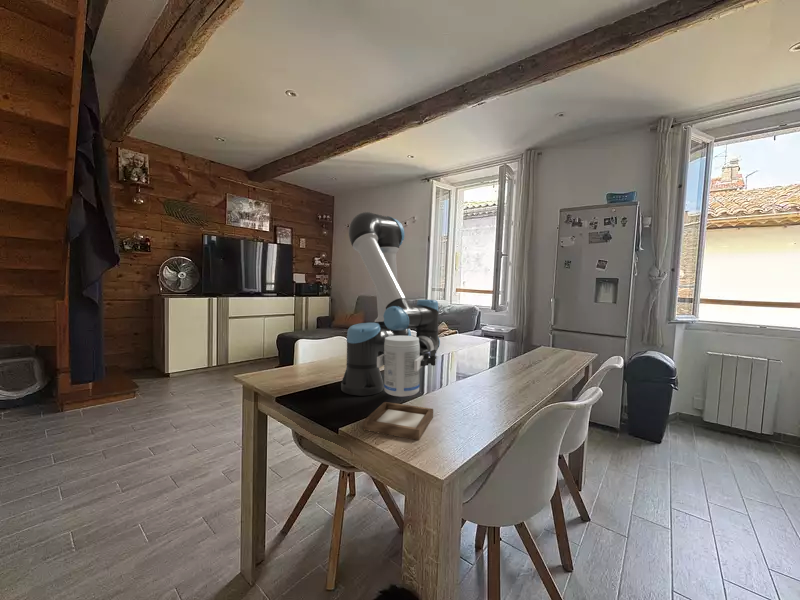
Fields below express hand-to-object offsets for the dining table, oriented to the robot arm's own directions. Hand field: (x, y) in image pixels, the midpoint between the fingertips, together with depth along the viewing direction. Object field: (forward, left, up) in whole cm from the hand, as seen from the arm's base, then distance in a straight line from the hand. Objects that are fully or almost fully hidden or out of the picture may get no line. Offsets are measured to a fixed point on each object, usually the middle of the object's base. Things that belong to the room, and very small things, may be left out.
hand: (396, 364), depth 85 cm
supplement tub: (0, +4, -9) cm, 10 cm away
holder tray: (0, +4, -17) cm, 18 cm away
